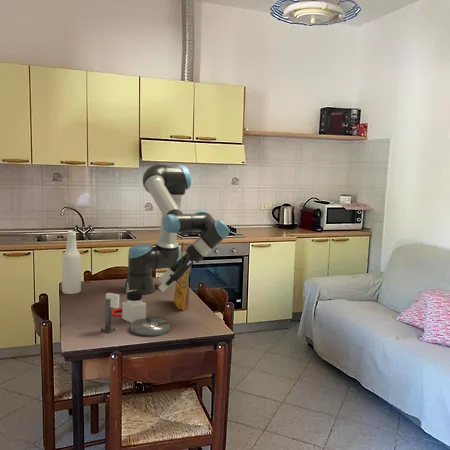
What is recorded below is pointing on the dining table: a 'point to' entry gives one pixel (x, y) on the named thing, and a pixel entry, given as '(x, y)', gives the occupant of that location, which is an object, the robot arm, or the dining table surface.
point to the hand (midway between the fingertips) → (160, 285)
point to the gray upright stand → (110, 302)
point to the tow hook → (120, 308)
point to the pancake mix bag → (182, 285)
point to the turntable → (149, 327)
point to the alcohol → (71, 266)
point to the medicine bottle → (133, 307)
